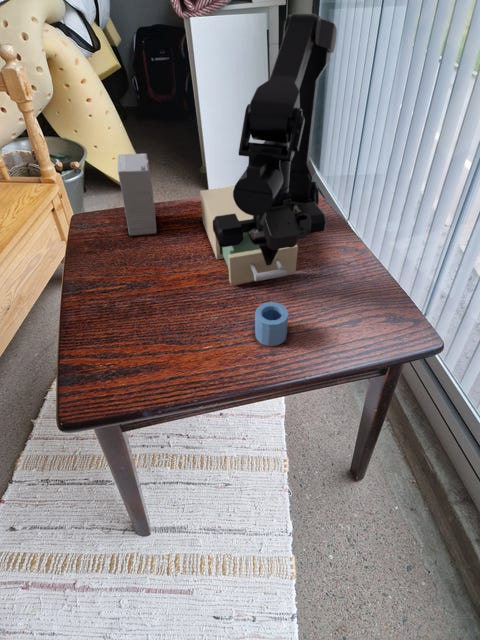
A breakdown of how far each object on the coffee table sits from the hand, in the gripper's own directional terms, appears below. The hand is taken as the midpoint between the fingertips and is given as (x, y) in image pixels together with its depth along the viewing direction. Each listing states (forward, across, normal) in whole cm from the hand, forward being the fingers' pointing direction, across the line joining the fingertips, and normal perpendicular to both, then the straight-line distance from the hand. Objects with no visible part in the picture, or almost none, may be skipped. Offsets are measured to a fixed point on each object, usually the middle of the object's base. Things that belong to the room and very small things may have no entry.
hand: (267, 264), depth 77 cm
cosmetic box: (+6, -21, +30) cm, 37 cm away
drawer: (+5, 0, +8) cm, 9 cm away
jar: (+6, -3, -12) cm, 14 cm away
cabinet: (+6, 0, +20) cm, 21 cm away
